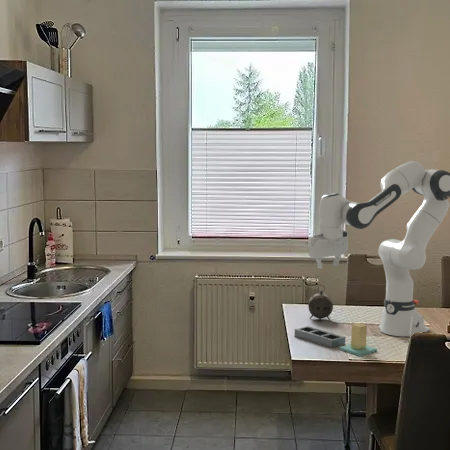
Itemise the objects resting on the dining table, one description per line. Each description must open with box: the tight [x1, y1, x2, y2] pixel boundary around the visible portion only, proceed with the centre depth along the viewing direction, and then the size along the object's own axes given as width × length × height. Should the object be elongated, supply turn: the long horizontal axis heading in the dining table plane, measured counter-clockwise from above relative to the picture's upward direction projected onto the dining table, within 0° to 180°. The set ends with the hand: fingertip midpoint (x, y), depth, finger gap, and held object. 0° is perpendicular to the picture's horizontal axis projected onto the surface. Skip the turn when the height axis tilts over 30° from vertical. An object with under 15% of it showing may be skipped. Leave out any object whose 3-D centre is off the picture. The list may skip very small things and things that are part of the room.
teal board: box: [339, 343, 378, 357], centre depth 247 cm, size 10×10×1 cm
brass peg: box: [350, 322, 368, 350], centre depth 247 cm, size 4×4×9 cm
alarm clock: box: [307, 284, 334, 322], centre depth 290 cm, size 11×5×16 cm, turn 84°
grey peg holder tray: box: [294, 325, 346, 349], centre depth 260 cm, size 8×20×3 cm, turn 40°
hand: (328, 267), depth 262 cm, fingers open, 8 cm apart
